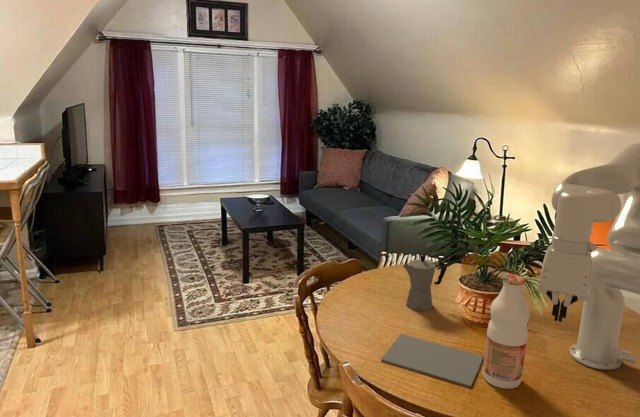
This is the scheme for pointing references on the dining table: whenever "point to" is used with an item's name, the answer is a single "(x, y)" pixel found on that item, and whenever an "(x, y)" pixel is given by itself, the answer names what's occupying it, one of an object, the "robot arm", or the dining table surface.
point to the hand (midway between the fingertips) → (558, 319)
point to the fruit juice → (506, 335)
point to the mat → (434, 360)
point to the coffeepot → (422, 282)
